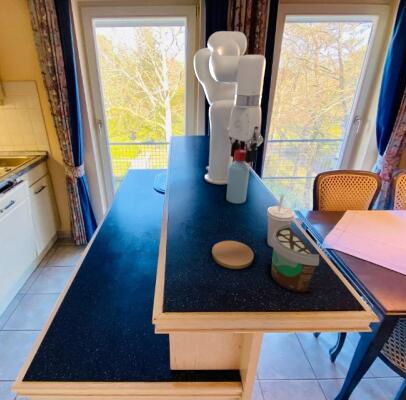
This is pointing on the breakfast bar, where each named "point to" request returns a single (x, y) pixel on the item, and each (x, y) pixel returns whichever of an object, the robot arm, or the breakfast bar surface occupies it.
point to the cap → (239, 155)
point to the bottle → (237, 182)
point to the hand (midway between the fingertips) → (241, 158)
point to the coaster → (232, 254)
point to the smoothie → (278, 218)
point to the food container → (292, 260)
